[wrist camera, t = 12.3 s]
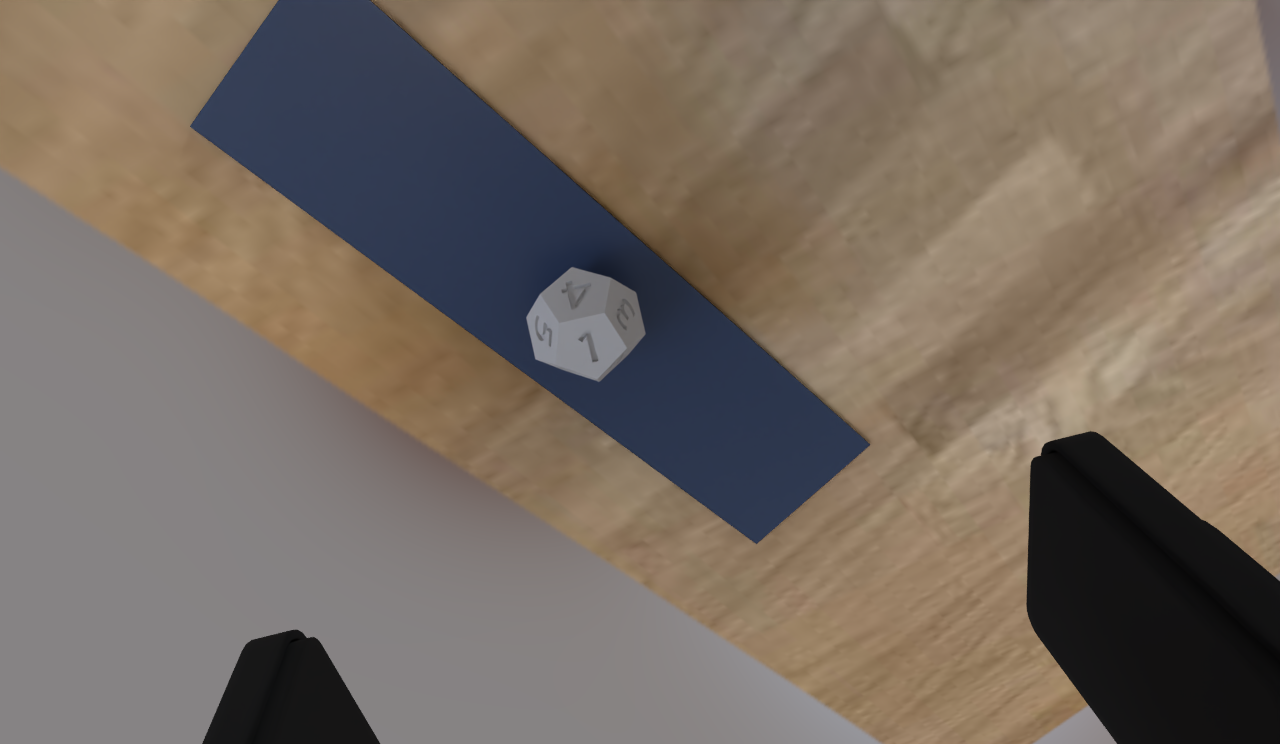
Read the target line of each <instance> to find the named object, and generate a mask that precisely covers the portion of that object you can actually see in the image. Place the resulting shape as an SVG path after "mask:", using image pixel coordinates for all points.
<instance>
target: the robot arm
mask: <svg viewBox="0 0 1280 744" xmlns="http://www.w3.org/2000/svg"><path fill="white" fill-rule="evenodd" d="M1027 612H1028V617H1029V619H1030V622H1031V625H1032V627H1033V629H1034V631H1035V632H1036V634H1037V635H1038V637H1039V638H1040V640H1041V641H1042V642H1043V644H1044V645H1045V646H1046V648H1047V649H1048V651H1049V652H1050V653H1051V655H1052V656H1053V657H1054V659H1055V660H1056V661H1057V663H1058V664H1059V665H1060V667H1061V668H1062V670H1063V671H1064V672H1065V674H1066V675H1067V676H1068V678H1069V679H1070V680H1071V682H1072V683H1073V684H1074V686H1075V687H1076V689H1077V690H1078V691H1079V693H1080V694H1081V695H1082V697H1083V698H1084V699H1085V701H1086V702H1087V703H1088V705H1089V706H1090V707H1091V709H1092V710H1093V711H1094V713H1095V714H1096V716H1097V717H1098V718H1099V720H1100V721H1101V722H1102V724H1103V725H1104V726H1105V727H1106V729H1107V730H1108V732H1109V733H1110V734H1111V736H1112V737H1113V739H1114V740H1115V741H1116V743H1117V744H1280V581H1279V580H1277V579H1276V578H1275V577H1274V576H1273V575H1272V574H1270V573H1269V572H1268V571H1267V570H1266V569H1265V568H1263V567H1262V566H1261V565H1260V564H1259V563H1257V562H1256V561H1255V560H1254V559H1253V558H1251V557H1250V556H1249V555H1248V554H1247V553H1245V552H1244V551H1243V550H1242V549H1241V548H1240V547H1238V546H1237V545H1236V544H1235V543H1234V542H1232V541H1231V540H1230V539H1229V538H1228V537H1226V536H1225V535H1224V534H1223V533H1222V532H1220V531H1219V530H1218V529H1217V528H1215V527H1214V526H1212V525H1210V524H1209V523H1207V522H1206V521H1204V520H1201V519H1200V518H1199V517H1198V516H1196V515H1195V514H1194V513H1193V512H1192V511H1191V510H1189V509H1188V508H1187V507H1186V506H1185V505H1183V504H1182V503H1181V502H1180V501H1179V500H1177V499H1176V498H1175V497H1174V496H1173V495H1172V494H1170V493H1169V492H1168V491H1167V490H1166V489H1164V488H1163V487H1162V486H1161V485H1160V484H1159V483H1157V482H1156V481H1155V480H1154V479H1153V478H1151V477H1150V476H1149V475H1148V474H1147V473H1146V472H1144V471H1143V470H1142V469H1141V468H1140V467H1138V466H1137V465H1136V464H1135V463H1134V462H1133V461H1131V460H1130V459H1129V458H1128V457H1127V456H1125V455H1124V454H1123V453H1122V452H1121V451H1120V450H1118V449H1117V448H1116V447H1115V446H1114V445H1112V444H1111V443H1110V442H1109V441H1108V440H1107V439H1105V438H1104V437H1103V436H1101V435H1100V434H1098V433H1097V432H1091V431H1090V432H1086V433H1082V434H1078V435H1074V436H1070V437H1066V438H1062V439H1058V440H1054V441H1050V442H1047V443H1045V444H1044V446H1043V448H1042V452H1041V456H1038V457H1035V458H1033V460H1032V462H1031V472H1030V506H1029V539H1028V573H1027ZM202 744H380V743H379V741H378V739H377V738H376V736H375V734H374V732H373V731H372V729H371V727H370V726H369V724H368V722H367V721H366V719H365V717H364V715H363V714H362V712H361V710H360V709H359V707H358V705H357V704H356V702H355V700H354V699H353V697H352V695H351V693H350V692H349V690H348V688H347V687H346V685H345V683H344V682H343V680H342V678H341V676H340V675H339V673H338V672H337V670H336V668H335V666H334V665H333V663H332V661H331V660H330V658H329V656H328V654H327V653H326V651H325V649H324V648H323V646H322V644H321V643H320V642H319V640H318V639H316V638H315V637H310V638H306V637H305V635H304V634H303V633H302V632H300V631H299V630H291V631H286V632H282V633H278V634H274V635H270V636H266V637H263V638H258V639H254V640H251V641H250V642H248V643H247V644H246V645H245V647H244V649H243V650H242V652H241V654H240V657H239V659H238V662H237V664H236V666H235V668H234V671H233V673H232V675H231V678H230V680H229V683H228V685H227V687H226V690H225V692H224V694H223V697H222V699H221V701H220V704H219V706H218V708H217V711H216V713H215V715H214V718H213V720H212V722H211V725H210V727H209V729H208V732H207V734H206V736H205V739H204V741H203V743H202Z"/></svg>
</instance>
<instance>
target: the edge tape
mask: <svg viewBox="0 0 1280 744" xmlns="http://www.w3.org/2000/svg"><path fill="white" fill-rule="evenodd" d="M190 127H191V128H193V129H194V130H195V131H197V132H198V133H200V134H201V135H202V136H204V137H205V138H206V139H208V140H209V141H210V142H212V143H213V144H214V145H216V146H217V147H219V148H220V149H221V150H223V151H224V152H225V153H227V154H228V155H229V156H231V157H232V158H233V159H235V160H236V161H238V162H239V163H240V164H242V165H243V166H244V167H246V168H247V169H248V170H250V171H251V172H252V173H254V174H255V175H257V176H258V177H259V178H261V179H262V180H263V181H265V182H266V183H267V184H269V185H270V186H271V187H273V188H274V189H276V190H277V191H278V192H280V193H281V194H282V195H284V196H285V197H286V198H288V199H289V200H290V201H292V202H293V203H295V204H296V205H297V206H299V207H300V208H301V209H303V210H304V211H305V212H307V213H308V214H309V215H311V216H312V217H314V218H315V219H316V220H318V221H319V222H320V223H322V224H323V225H324V226H326V227H327V228H328V229H330V230H331V231H333V232H334V233H335V234H337V235H338V236H339V237H341V238H342V239H343V240H345V241H346V242H347V243H349V244H350V245H352V246H353V247H354V248H356V249H357V250H358V251H360V252H361V253H362V254H364V255H365V256H366V257H368V258H369V259H370V260H372V261H373V262H375V263H376V264H377V265H379V266H380V267H381V268H383V269H384V270H385V271H387V272H388V273H389V274H391V275H392V276H394V277H395V278H396V279H398V280H399V281H400V282H402V283H403V284H404V285H406V286H407V287H408V288H410V289H411V290H413V291H414V292H415V293H417V294H418V295H419V296H421V297H422V298H423V299H425V300H426V301H427V302H429V303H430V304H432V305H433V306H434V307H436V308H437V309H438V310H440V311H441V312H442V313H444V314H445V315H446V316H448V317H449V318H451V319H452V320H453V321H455V322H456V323H457V324H459V325H460V326H461V327H463V328H464V329H465V330H467V331H468V332H470V333H471V334H472V335H474V336H475V337H476V338H478V339H479V340H480V341H482V342H483V343H484V344H486V345H487V346H489V347H490V348H491V349H493V350H494V351H495V352H497V353H498V354H499V355H501V356H502V357H503V358H505V359H506V360H508V361H509V362H510V363H512V364H513V365H514V366H516V367H517V368H518V369H520V370H521V371H522V372H524V373H525V374H527V375H528V376H529V377H531V378H532V379H533V380H535V381H536V382H537V383H539V384H540V385H541V386H543V387H544V388H546V389H547V390H548V391H550V392H551V393H552V394H554V395H555V396H556V397H558V398H559V399H560V400H562V401H563V402H565V403H566V404H567V405H569V406H570V407H571V408H573V409H574V410H575V411H577V412H578V413H579V414H581V415H582V416H584V417H585V418H586V419H588V420H589V421H590V422H592V423H593V424H594V425H596V426H597V427H598V428H600V429H601V430H603V431H604V432H605V433H607V434H608V435H609V436H611V437H612V438H613V439H615V440H616V441H617V442H619V443H620V444H622V445H623V446H624V447H626V448H627V449H628V450H630V451H631V452H632V453H634V454H635V455H636V456H638V457H639V458H641V459H642V460H643V461H645V462H646V463H647V464H649V465H650V466H651V467H653V468H654V469H655V470H657V471H658V472H660V473H661V474H662V475H664V476H665V477H666V478H668V479H669V480H670V481H672V482H673V483H674V484H676V485H677V486H679V487H680V488H681V489H683V490H684V491H685V492H687V493H688V494H689V495H691V496H692V497H693V498H695V499H696V500H698V501H699V502H700V503H702V504H703V505H704V506H706V507H707V508H708V509H710V510H711V511H712V512H714V513H715V514H717V515H718V516H719V517H721V518H722V519H723V520H725V521H726V522H727V523H729V524H730V525H731V526H733V527H734V528H736V529H737V530H738V531H740V532H741V533H742V534H744V535H745V536H746V537H748V538H749V539H750V540H752V541H753V542H755V543H756V544H757V543H758V542H759V541H760V540H762V539H763V538H764V537H765V536H766V535H767V534H768V533H770V532H771V531H772V530H773V529H774V528H775V527H776V526H778V525H779V524H780V523H781V522H782V521H783V520H785V519H786V518H787V517H788V516H789V515H790V514H791V513H793V512H794V511H795V510H796V509H797V508H798V507H799V506H801V505H802V504H803V503H804V502H805V501H806V500H807V499H809V498H810V497H811V496H812V495H813V494H814V493H816V492H817V491H818V490H819V489H820V488H821V487H822V486H824V485H825V484H826V483H827V482H828V481H829V480H830V479H832V478H833V477H834V476H835V475H836V474H837V473H838V472H840V471H841V470H842V469H843V468H844V467H845V466H846V465H848V464H849V463H850V462H851V461H852V460H853V459H855V458H856V457H857V456H858V455H859V454H860V453H861V452H863V451H864V450H865V449H866V448H867V447H868V446H869V445H870V444H869V443H868V442H867V441H866V440H865V439H863V438H862V437H861V436H860V435H859V434H858V433H857V432H856V431H854V430H853V429H852V428H851V427H850V426H849V425H848V424H847V423H845V422H844V421H843V420H842V419H841V418H840V417H839V416H838V415H836V414H835V413H834V412H833V411H832V410H831V409H830V408H829V407H827V406H826V405H825V404H824V403H823V402H822V401H821V400H820V399H818V398H817V397H816V396H815V395H814V394H813V393H812V392H811V391H809V390H808V389H807V388H806V387H805V386H804V385H803V384H802V383H800V382H799V381H798V380H797V379H796V378H795V377H794V376H793V375H791V374H790V373H789V372H788V371H787V370H786V369H785V368H783V367H782V366H781V365H780V364H779V363H778V362H777V361H776V360H774V359H773V358H772V357H771V356H770V355H769V354H768V353H767V352H765V351H764V350H763V349H762V348H761V347H760V346H759V345H758V344H756V343H755V342H754V341H753V340H752V339H751V338H750V337H749V336H747V335H746V334H745V333H744V332H743V331H742V330H741V329H740V328H738V327H737V326H736V325H735V324H734V323H733V322H732V321H731V320H729V319H728V318H727V317H726V316H725V315H724V314H723V313H722V312H720V311H719V310H718V309H717V308H716V307H715V306H714V305H713V304H711V303H710V302H709V301H708V300H707V299H706V298H705V297H704V296H702V295H701V294H700V293H699V292H698V291H697V290H696V289H694V288H693V287H692V286H691V285H690V284H689V283H688V282H687V281H685V280H684V279H683V278H682V277H681V276H680V275H679V274H678V273H676V272H675V271H674V270H673V269H672V268H671V267H670V266H669V265H667V264H666V263H665V262H664V261H663V260H662V259H661V258H660V257H658V256H657V255H656V254H655V253H654V252H653V251H652V250H651V249H649V248H648V247H647V246H646V245H645V244H644V243H643V242H642V241H640V240H639V239H638V238H637V237H636V236H635V235H634V234H633V233H631V232H630V231H629V230H628V229H627V228H626V227H625V226H624V225H622V224H621V223H620V222H619V221H618V220H617V219H616V218H615V217H613V216H612V215H611V214H610V213H609V212H608V211H607V210H605V209H604V208H603V207H602V206H601V205H600V204H599V203H598V202H596V201H595V200H594V199H593V198H592V197H591V196H590V195H589V194H587V193H586V192H585V191H584V190H583V189H582V188H581V187H580V186H578V185H577V184H576V183H575V182H574V181H573V180H572V179H571V178H569V177H568V176H567V175H566V174H565V173H564V172H563V171H562V170H560V169H559V168H558V167H557V166H556V165H555V164H554V163H553V162H551V161H550V160H549V159H548V158H547V157H546V156H545V155H544V154H542V153H541V152H540V151H539V150H538V149H537V148H536V147H535V146H533V145H532V144H531V143H530V142H529V141H528V140H527V139H526V138H524V137H523V136H522V135H521V134H520V133H519V132H518V131H516V130H515V129H514V128H513V127H512V126H511V125H510V124H509V123H507V122H506V121H505V120H504V119H503V118H502V117H501V116H500V115H498V114H497V113H496V112H495V111H494V110H493V109H492V108H491V107H489V106H488V105H487V104H486V103H485V102H484V101H483V100H482V99H480V98H479V97H478V96H477V95H476V94H475V93H474V92H473V91H471V90H470V89H469V88H468V87H467V86H466V85H465V84H464V83H462V82H461V81H460V80H459V79H458V78H457V77H456V76H455V75H453V74H452V73H451V72H450V71H449V70H448V69H447V68H446V67H444V66H443V65H442V64H441V63H440V62H439V61H438V60H437V59H435V58H434V57H433V56H432V55H431V54H430V53H429V52H428V51H426V50H425V49H424V48H423V47H422V46H421V45H420V44H418V43H417V42H416V41H415V40H414V39H413V38H412V37H411V36H409V35H408V34H407V33H406V32H405V31H404V30H403V29H402V28H400V27H399V26H398V25H397V24H396V23H395V22H394V21H393V20H391V19H390V18H389V17H388V16H387V15H386V14H385V13H384V12H382V11H381V10H380V9H379V8H378V7H377V6H376V5H375V4H373V3H372V2H371V1H370V0H279V1H278V2H277V3H276V5H275V6H274V8H273V9H272V10H271V12H270V13H269V15H268V16H267V18H266V19H265V20H264V22H263V23H262V25H261V26H260V28H259V29H258V30H257V32H256V33H255V35H254V36H253V38H252V39H251V40H250V42H249V43H248V45H247V46H246V47H245V49H244V50H243V52H242V53H241V55H240V56H239V57H238V59H237V60H236V62H235V63H234V65H233V66H232V67H231V69H230V70H229V72H228V73H227V74H226V76H225V77H224V79H223V80H222V82H221V83H220V84H219V86H218V87H217V89H216V90H215V92H214V93H213V94H212V96H211V97H210V99H209V100H208V101H207V103H206V104H205V106H204V107H203V109H202V110H201V111H200V113H199V114H198V116H197V117H196V119H195V120H194V121H193V123H192V124H191V126H190ZM571 267H574V268H577V269H581V270H584V271H588V272H592V273H595V274H599V275H603V276H606V277H610V278H612V279H614V280H616V281H617V282H619V283H621V284H622V285H624V286H626V287H628V288H629V289H631V290H633V291H634V292H636V294H637V299H638V303H639V307H640V312H641V316H642V320H643V325H644V329H645V333H646V334H645V335H644V337H643V338H642V339H641V340H640V341H639V343H638V344H637V345H636V346H635V347H634V349H633V350H632V351H631V352H630V353H629V354H628V355H627V356H626V357H625V358H624V359H623V360H622V361H621V362H620V363H619V364H618V365H617V366H616V367H615V368H614V369H613V370H611V371H610V372H609V373H608V374H607V375H606V376H605V377H604V378H603V379H602V380H601V381H600V382H598V381H595V380H592V379H589V378H586V377H583V376H580V375H577V374H574V373H571V372H568V371H565V370H562V369H559V368H557V367H554V366H552V365H549V364H546V363H544V362H541V361H539V360H536V359H535V355H534V350H533V346H532V341H531V337H530V332H529V328H528V323H527V319H526V317H527V315H528V314H529V312H530V310H531V308H532V307H533V305H534V303H535V302H536V300H537V298H538V297H539V295H540V294H541V293H542V292H543V291H544V290H545V289H546V288H548V287H549V286H550V285H551V284H552V283H554V282H555V281H556V280H557V279H558V278H559V277H561V276H562V275H563V274H564V273H565V272H567V271H568V270H569V269H570V268H571Z"/></svg>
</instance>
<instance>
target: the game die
mask: <svg viewBox="0 0 1280 744" xmlns="http://www.w3.org/2000/svg"><path fill="white" fill-rule="evenodd" d="M526 319H527V323H528V328H529V332H530V337H531V341H532V346H533V350H534V355H535V359H536V360H539V361H541V362H544V363H546V364H549V365H552V366H554V367H557V368H559V369H562V370H565V371H568V372H571V373H574V374H577V375H580V376H583V377H586V378H589V379H592V380H595V381H598V382H600V381H601V380H602V379H603V378H604V377H605V376H606V375H607V374H608V373H609V372H610V371H611V370H613V369H614V368H615V367H616V366H617V365H618V364H619V363H620V362H621V361H622V360H623V359H624V358H625V357H626V356H627V355H628V354H629V353H630V352H631V351H632V350H633V349H634V347H635V346H636V345H637V344H638V343H639V341H640V340H641V339H642V338H643V337H644V335H645V334H646V333H645V329H644V325H643V320H642V316H641V312H640V307H639V303H638V299H637V294H636V292H634V291H633V290H631V289H629V288H628V287H626V286H624V285H622V284H621V283H619V282H617V281H616V280H614V279H612V278H610V277H606V276H603V275H599V274H595V273H592V272H588V271H584V270H581V269H577V268H574V267H571V268H570V269H569V270H568V271H567V272H565V273H564V274H563V275H562V276H561V277H559V278H558V279H557V280H556V281H555V282H554V283H552V284H551V285H550V286H549V287H548V288H546V289H545V290H544V291H543V292H542V293H541V294H540V295H539V297H538V298H537V300H536V302H535V303H534V305H533V307H532V308H531V310H530V312H529V314H528V315H527V317H526Z"/></svg>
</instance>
